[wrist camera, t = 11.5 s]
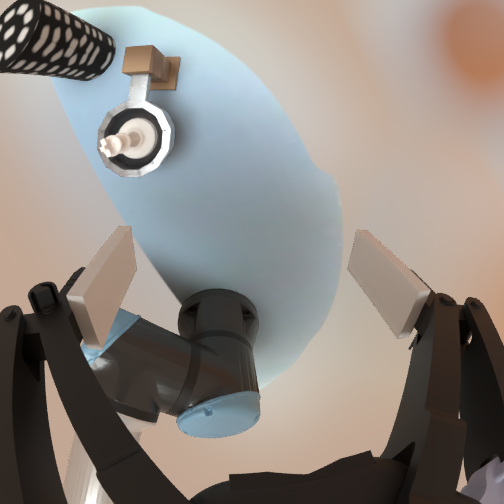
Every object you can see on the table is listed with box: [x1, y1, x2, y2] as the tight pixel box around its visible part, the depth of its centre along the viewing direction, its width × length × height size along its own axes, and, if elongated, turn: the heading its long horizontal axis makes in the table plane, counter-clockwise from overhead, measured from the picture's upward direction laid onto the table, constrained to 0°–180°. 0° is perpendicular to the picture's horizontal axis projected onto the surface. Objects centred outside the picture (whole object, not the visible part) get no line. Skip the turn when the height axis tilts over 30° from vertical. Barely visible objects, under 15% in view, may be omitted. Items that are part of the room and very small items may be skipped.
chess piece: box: [100, 118, 158, 159], centre depth 23 cm, size 5×5×10 cm
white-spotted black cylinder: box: [0, 0, 115, 81], centre depth 18 cm, size 8×8×20 cm
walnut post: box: [122, 45, 181, 90], centre depth 25 cm, size 5×5×12 cm
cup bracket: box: [97, 74, 175, 177], centre depth 26 cm, size 14×9×3 cm, turn 172°
